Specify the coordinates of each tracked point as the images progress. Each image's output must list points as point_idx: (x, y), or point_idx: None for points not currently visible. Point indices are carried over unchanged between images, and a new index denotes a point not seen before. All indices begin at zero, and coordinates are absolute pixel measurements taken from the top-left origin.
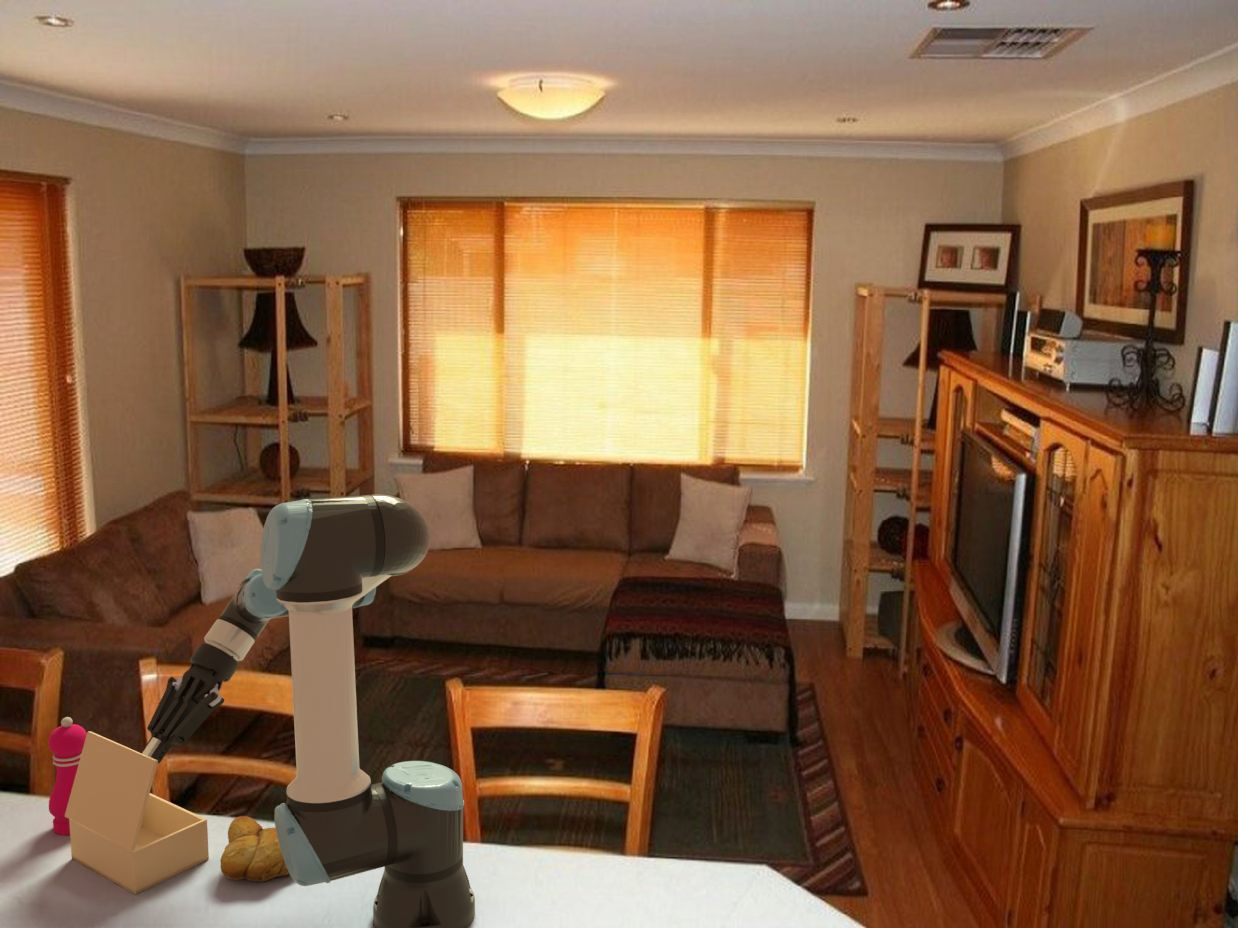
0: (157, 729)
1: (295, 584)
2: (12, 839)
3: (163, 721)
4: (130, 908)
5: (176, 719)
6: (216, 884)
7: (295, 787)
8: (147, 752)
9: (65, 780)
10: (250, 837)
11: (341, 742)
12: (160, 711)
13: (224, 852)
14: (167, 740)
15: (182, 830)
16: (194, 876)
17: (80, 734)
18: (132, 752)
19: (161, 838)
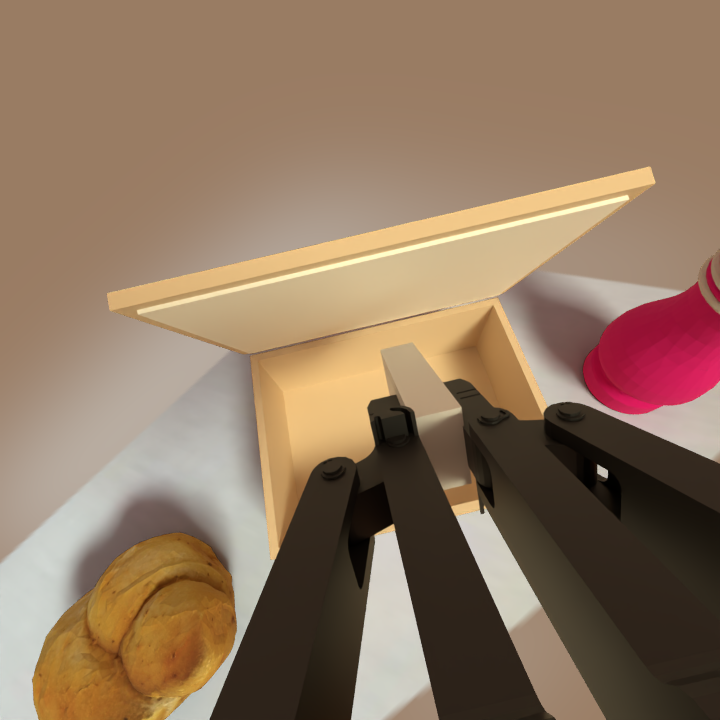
0: (494, 433)
1: None
2: (617, 284)
3: (517, 470)
4: (244, 370)
5: (413, 535)
6: (197, 519)
7: None
8: (407, 381)
9: (674, 300)
10: (108, 622)
11: None
12: (665, 486)
13: (166, 547)
14: (374, 458)
15: (263, 478)
16: (257, 497)
17: None
18: (280, 256)
19: (262, 422)
